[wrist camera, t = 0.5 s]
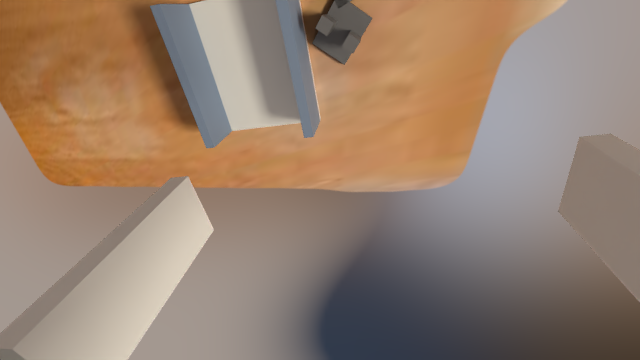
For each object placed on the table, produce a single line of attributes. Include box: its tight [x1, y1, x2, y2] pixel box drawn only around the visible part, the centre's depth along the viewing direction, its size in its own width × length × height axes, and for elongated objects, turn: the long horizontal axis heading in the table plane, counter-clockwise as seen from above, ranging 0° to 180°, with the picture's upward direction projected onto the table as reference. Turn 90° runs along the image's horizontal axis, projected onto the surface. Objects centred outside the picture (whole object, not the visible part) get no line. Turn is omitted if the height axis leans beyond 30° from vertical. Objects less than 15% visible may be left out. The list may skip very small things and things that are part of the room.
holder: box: [150, 0, 321, 148], centre depth 30 cm, size 14×12×6 cm
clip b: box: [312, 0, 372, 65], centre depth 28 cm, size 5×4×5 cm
